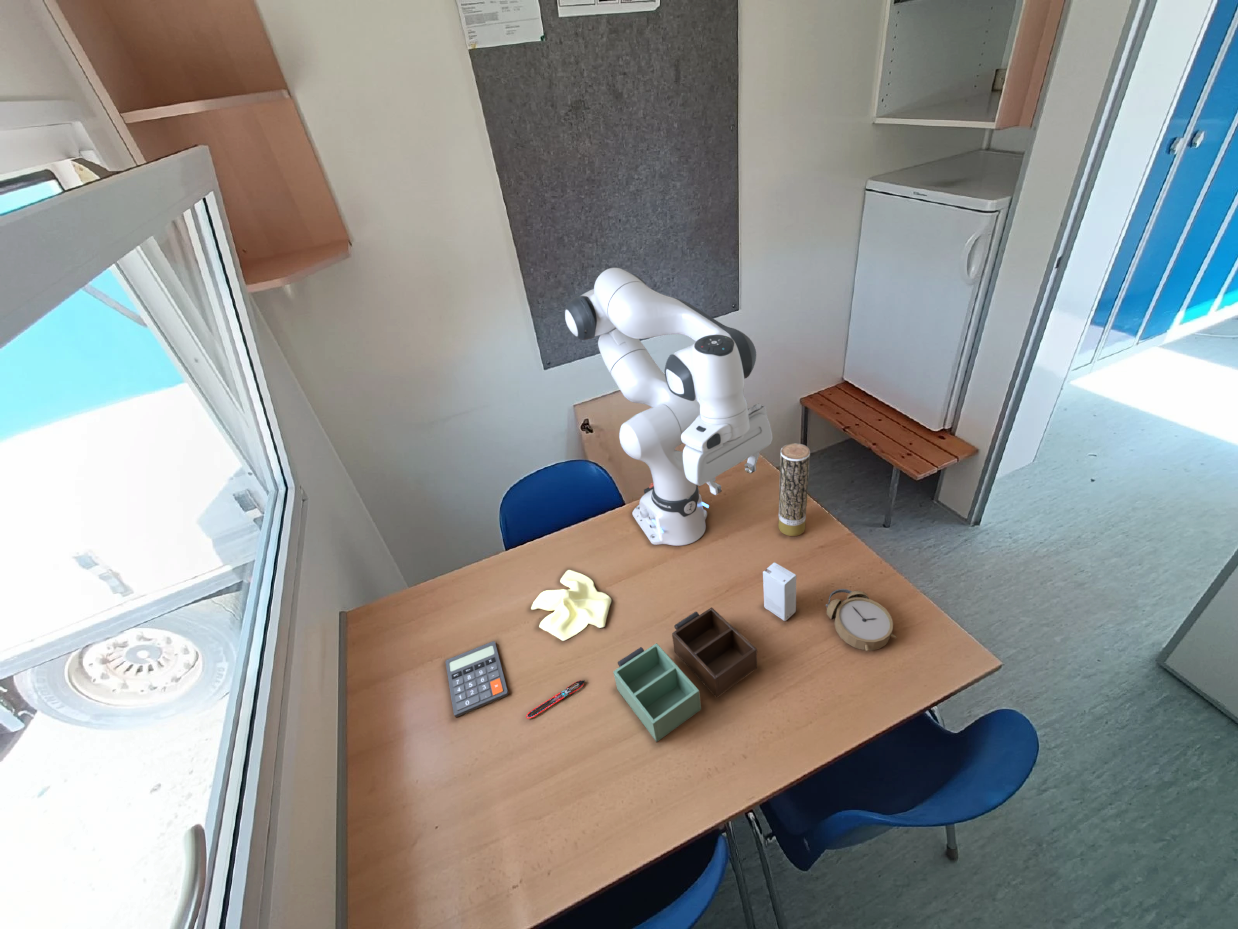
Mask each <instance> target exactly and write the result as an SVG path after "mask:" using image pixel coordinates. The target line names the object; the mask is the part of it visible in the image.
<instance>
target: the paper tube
mask: <svg viewBox="0 0 1238 929" xmlns="http://www.w3.org/2000/svg"><path fill="white" fill-rule="evenodd" d="M810 460H811V450H810V448H809V447H808V446H807V445H805V444H802V443H795V442H794V443H788V444H785V445H783V446H782V447H781V449H780V454H779V486H778V487H779V488H778V489H779V490H778V523H777V524H778V525H777V526H778V530H779V531H780V532H781V533H782V534H783V535H785V536H788V537H796V536H797V537H798V536H800V535H802V534H803V533H804V532H805V530H806V522H807V521H806V520H807V505H808V504H807V503H808V492H809V491H808V490H809V489H808V488H809V474H810Z"/></svg>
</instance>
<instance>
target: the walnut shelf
mask: <svg viewBox="0 0 1238 929" xmlns="http://www.w3.org/2000/svg"><path fill="white" fill-rule="evenodd" d="M674 629H675V630H674V631H673V632H672V633H671V635H672V636H671V637H672V644H673V652H674V654H676V655H677V656H678V657H679V659H680V660H681V661H682V662H683V663H684V664H685V665H686V666H687V667H688V668H689V670H690V671H692V673H693V674H694V675H695V676H696V677H697V678H698V679H699V681H700V682H702V684H703V685H704V686H705V687H706V688H707V689H708V690H709V692H710V693H711V694H712V695H713V696H714V697H715V698H719V697H720V696H721V695H723V694H724V693H726V692H727V691H728V690H730V689H731V688H732V687H734V686H735V685H736V684H738V683H739V682H740V681H742V680H743V679H745V678H746V677H748V676H749V675H750V674H752V673H753V672H754V671H756V670H757V669H758V649H757V647H755V645H753V644H752V643H751V641H749V640H748V639H747V638H746V637H744V635H742V634H741V633H740V632H739V631H738V630H737V629H736V628H735V627H734V626H733V625H732V624H731V623H730V622H728V621H727V619H725V618H724V617H723V616H722V615H721V614H720V613H719V612H718V611H716V609H715V608H714V607H709V608H708V609H706V610H705V611H703V612H702V613H700V614H699V612H698V611H694V612H693V613H691V614H689V615H688V616H687V617H685V618H683V619H682V620H680V621H678V622H677V623H675V624H674Z"/></svg>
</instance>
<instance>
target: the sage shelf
mask: <svg viewBox="0 0 1238 929" xmlns="http://www.w3.org/2000/svg"><path fill="white" fill-rule="evenodd" d="M617 665H618V667H617V668H616V669H614V670H613V671H612V674H613V677H614V682H615V686H616V689H617V691H618V693H619V695H620V696H621V697H622V699H623V700H624V701H625V702H626V704H627V705H628V706H629V708H630V709H631V710H632V711H633V713H634V714H635V716H636V718H638V719H639V721H640V722H641V724H642V725H643V726H644V727H645V729H646V731H647V732H648V733H649V734H650V736H651V737H652V738H653V740H654V741H655V742H656V743H657V742H659V741H660V740H662V739H663V738H665V736H667V735H669V734H670V733H672V732H673V731H674V730H675V729H677V728H678V727H680V726H681V725H682V724H684V723H685V722H686V721H688V720H689V719H690V718H692V717H693V716H695V715H696V714H697V713H699V712H700V711H701V710H702V706H701V704H702V703H701V695H700V690H699V689H698V688H697V687H696V685H695V684H694V683H693V682H692V681H691V679H689V677H688V676H687V675H686V674H685V672H683V671H682V670H681V669H680V667H679V666H678V665H677V664H676V663H675V661H674V660H672V658H670V656H669V655H668V654H667V653H666V651H664V649H663V648H662V647H661V646H660V645H659V644H658V643H654V644H653V645H651V646H650V647H648V648H647V649H644V648H643V647H642V646H640V647H638V648H637V649H635V650H634V651H632V652H631V653H629V654H627V655H626V656H625V657H623V658H621V659H620V660H618V661H617Z"/></svg>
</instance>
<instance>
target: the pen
mask: <svg viewBox="0 0 1238 929" xmlns="http://www.w3.org/2000/svg"><path fill="white" fill-rule="evenodd" d="M585 682H586V680H585V679H584V680H580V679H579V680H577V681H575V682H573V683H572V684H570V685H568V686H567V687H566V688H565V689H564V690H560V692H558V693H557V694H554V695H553V696H551V697H550V698H549V699H547V700H545V701H544V702H542V703H540V704H539V705H538V706H536V707H534V708H533V709H531V710H529V711H528V713H527V714H526V716H525V718H526V719H533V718H535V717H536V716H538V715H539V714H541V713H542V712H544V711H545V710H547V709H549V708H550V707H552V706H554V705H555V704H556V703H558V702H560V701H561V700H562V699H565V698H566V697H567V696H569V695H572V694H574V693H575V692H577V691H578V690H580V689H581V688H582V687H583V686H584V684H585Z"/></svg>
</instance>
